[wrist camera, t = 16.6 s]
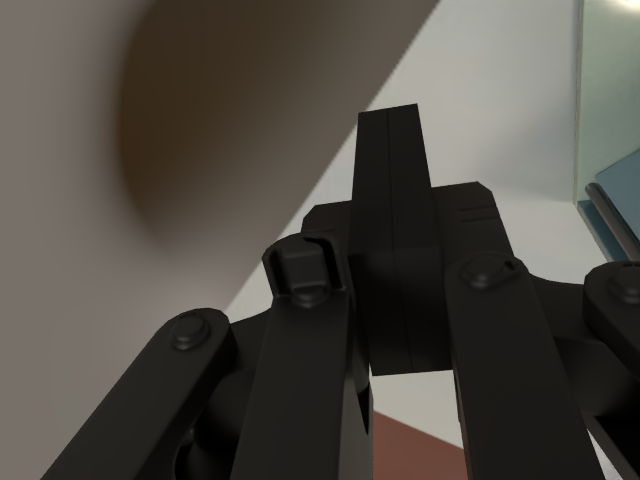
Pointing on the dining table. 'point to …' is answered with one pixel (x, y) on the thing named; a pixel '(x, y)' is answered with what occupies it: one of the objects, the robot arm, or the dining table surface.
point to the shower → (606, 116)
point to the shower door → (624, 189)
